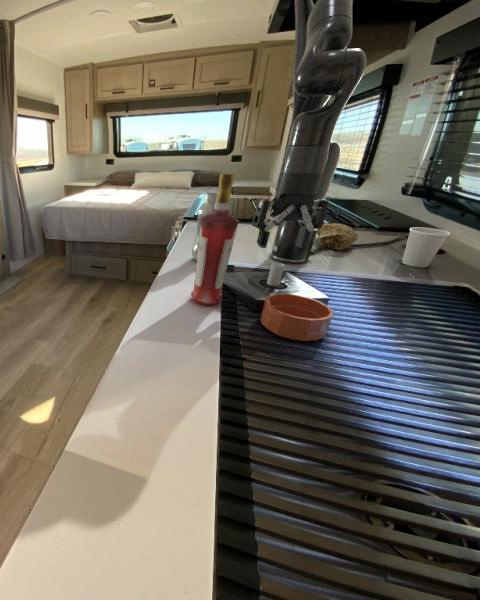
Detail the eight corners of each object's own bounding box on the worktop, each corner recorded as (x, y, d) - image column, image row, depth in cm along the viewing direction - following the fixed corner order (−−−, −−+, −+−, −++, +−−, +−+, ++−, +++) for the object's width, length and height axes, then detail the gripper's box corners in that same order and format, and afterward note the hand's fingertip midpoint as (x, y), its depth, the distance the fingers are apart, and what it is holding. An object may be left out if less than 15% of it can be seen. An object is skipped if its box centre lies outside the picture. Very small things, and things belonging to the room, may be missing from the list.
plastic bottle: (215, 264, 99) (227, 195, 90) (191, 263, 101) (201, 195, 92) (211, 257, 105) (223, 192, 96) (189, 256, 106) (198, 191, 97)
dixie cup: (441, 269, 93) (459, 235, 89) (407, 268, 95) (422, 233, 90) (420, 260, 101) (436, 227, 96) (389, 258, 102) (402, 226, 98)
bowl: (300, 313, 71) (307, 292, 69) (339, 342, 61) (348, 319, 59) (249, 315, 71) (254, 294, 69) (279, 344, 61) (286, 320, 59)
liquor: (190, 292, 82) (209, 171, 69) (222, 297, 79) (247, 172, 67) (187, 304, 76) (206, 174, 63) (221, 310, 73) (248, 175, 61)
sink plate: (283, 281, 87) (286, 271, 86) (325, 310, 73) (329, 297, 71) (223, 283, 87) (225, 272, 85) (253, 311, 72) (256, 299, 71)
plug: (274, 291, 82) (282, 260, 78) (286, 299, 77) (295, 267, 74) (254, 291, 82) (261, 260, 78) (265, 300, 77) (273, 268, 74)
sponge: (350, 257, 107) (364, 233, 118) (352, 234, 104) (366, 212, 115) (303, 255, 117) (320, 233, 128) (303, 234, 114) (320, 213, 124)
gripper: (277, 171, 64) (257, 252, 71) (349, 171, 64) (323, 251, 71) (257, 168, 71) (241, 242, 78) (323, 168, 71) (301, 242, 78)
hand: (280, 246), depth 74 cm, fingers open, 8 cm apart
